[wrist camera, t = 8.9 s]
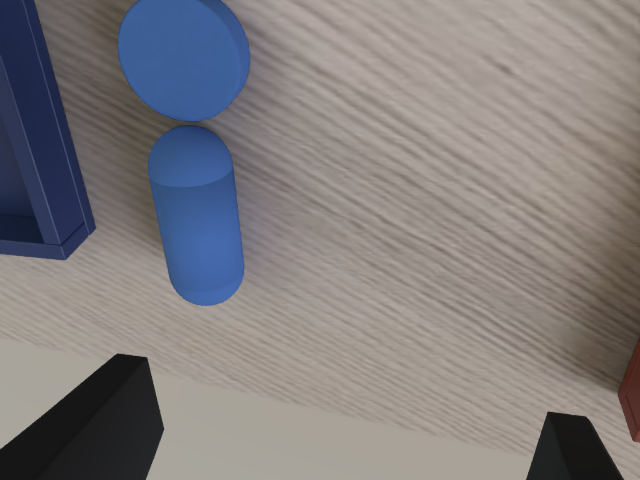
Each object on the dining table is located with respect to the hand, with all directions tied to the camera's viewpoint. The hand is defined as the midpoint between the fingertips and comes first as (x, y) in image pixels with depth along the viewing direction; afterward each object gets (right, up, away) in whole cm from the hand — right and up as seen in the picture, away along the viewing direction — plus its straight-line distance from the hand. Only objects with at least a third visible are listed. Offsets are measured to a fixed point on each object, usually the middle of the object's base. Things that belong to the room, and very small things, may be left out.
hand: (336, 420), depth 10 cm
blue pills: (-4, +6, +7) cm, 10 cm away
